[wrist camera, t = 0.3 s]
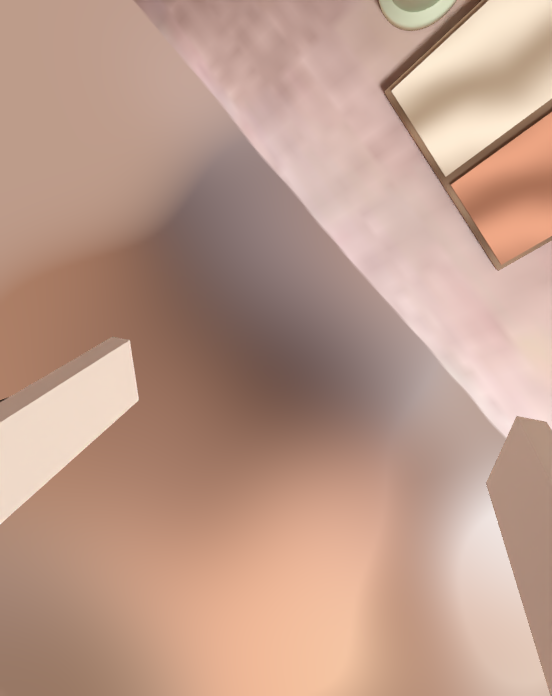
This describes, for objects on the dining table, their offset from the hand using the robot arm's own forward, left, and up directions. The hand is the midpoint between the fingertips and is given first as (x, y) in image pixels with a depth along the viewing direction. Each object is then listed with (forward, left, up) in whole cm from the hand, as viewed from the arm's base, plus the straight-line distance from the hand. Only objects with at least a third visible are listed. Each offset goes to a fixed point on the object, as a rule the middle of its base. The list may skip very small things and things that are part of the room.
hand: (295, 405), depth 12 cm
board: (-13, +9, -27) cm, 31 cm away
